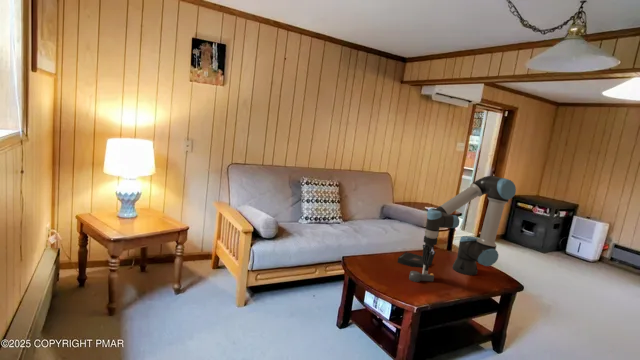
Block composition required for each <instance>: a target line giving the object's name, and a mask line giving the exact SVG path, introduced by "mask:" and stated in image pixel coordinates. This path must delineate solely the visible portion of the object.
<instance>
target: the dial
mask: <svg viewBox="0 0 640 360" xmlns="http://www.w3.org/2000/svg"><path fill="white" fill-rule="evenodd" d="M408 276H409V277H408V280H409V281H410V282H414V283H420V282H434V279H435V275H434V273H432V272H431V273H428V274H422V273H421V272H419V271H416V270H411V271H410V272H409V275H408Z"/></svg>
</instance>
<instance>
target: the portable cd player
mask: <svg viewBox="0 0 640 360" xmlns="http://www.w3.org/2000/svg"><path fill="white" fill-rule="evenodd" d="M422 258H423V255H419V254H416V253H412V252H409V251H405V252H404V253H402V254H401V255H400V256H398V257H397V262H396V263H398V264H400V265H404V266H407V267H411V268H422V269H423V266H424V263H423V261H422Z"/></svg>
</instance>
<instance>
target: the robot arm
mask: <svg viewBox="0 0 640 360" xmlns="http://www.w3.org/2000/svg"><path fill="white" fill-rule="evenodd" d="M516 191H517V187H516V184H515V183H514V182H513V181H512V180H511V179H508V178H505V177H499V176H495V175H487V176H483V177H481V178H478V179H477V180H475V181H473V182H472V183H470V185H469V187H467V188H466V189H464V190H463V191H461V192H460V193H458V194H456V195H455V196H453V197H451V198H450V199H449V200H447V201H446V202H444V203H442V204H441V205H440V206H437V207H436V208H435V207H434V208H433V207H432V208H430V209H428V210H427V212H426V223H425V230H424V236H423V243H425V244H422V256H423V258H422V261H423V263H424V266H423V268H422V273H421V274H429V267H430V266H432V264H433V261H434V260H433V259H434V258H435V255H436V251H434V250H435V246H436V245H437V244H438V238H439V231H440V228H443V229H444V228H445V229H448V228H449V229H456V228H458V227H459V225H460V218H459V216H458V215H455V214H453V213H454V212H456V211H457V210H459V209H461V208H462V207H463V206H465V205H467V204H468V203H469V202H471V201H472V200H474V199H476V198H478V197H482V196H483V195H487V199H488V205H487V208H486V211H485V216H484V220H483V223H482V224H483V225H482V228H481V231H480V235H479V237H475V236H470V235H469V236H468V235H464V236H461V237H460V240H459V244H458V248H457V249H458V251H457V254H456V255H457V257H456V259H455V260H454V263H453V264H452V266H451V268H452V270H453V271H455V272H456V273H459V274H464V275H467V276H475V275H477V274H478V266H477V263H478V264H480V265H481V266H482V265H483V266H484V267H491V266H493V265H494V264H495V263H496V262H497V261H498V259H499V253H498V251H497V243H496V238H497V235H498V231H499V228H500V223H501V220H502V216H503V211H504V208H505V205H506V204H507V203H509V200H511V199H513V198H514V197H515V195H516V193H517V192H516Z"/></svg>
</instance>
